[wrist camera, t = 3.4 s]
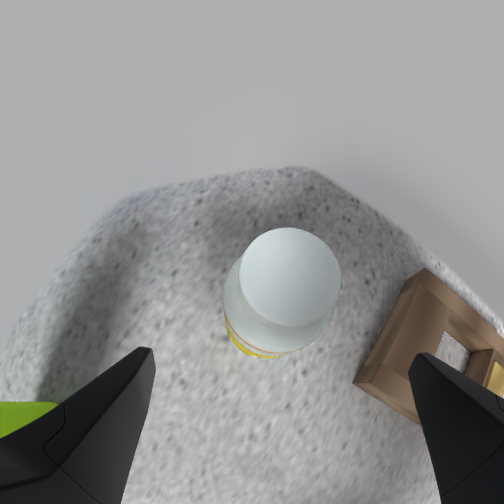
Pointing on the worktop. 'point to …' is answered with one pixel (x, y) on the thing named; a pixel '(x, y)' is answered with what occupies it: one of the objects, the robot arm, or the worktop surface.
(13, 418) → the soap dispenser
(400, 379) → the socket block
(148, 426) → the worktop surface
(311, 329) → the supplement bottle
